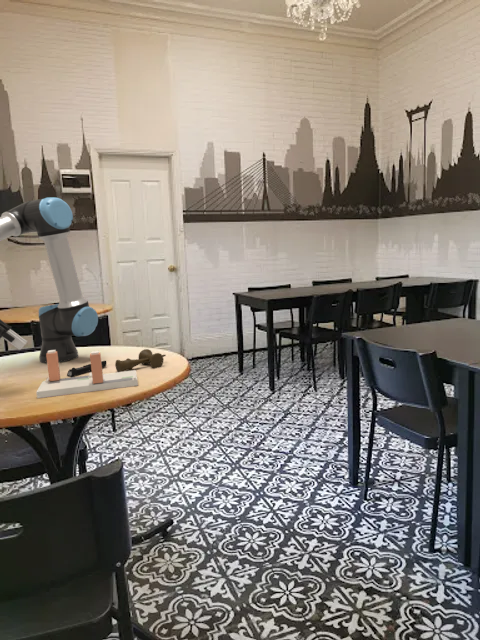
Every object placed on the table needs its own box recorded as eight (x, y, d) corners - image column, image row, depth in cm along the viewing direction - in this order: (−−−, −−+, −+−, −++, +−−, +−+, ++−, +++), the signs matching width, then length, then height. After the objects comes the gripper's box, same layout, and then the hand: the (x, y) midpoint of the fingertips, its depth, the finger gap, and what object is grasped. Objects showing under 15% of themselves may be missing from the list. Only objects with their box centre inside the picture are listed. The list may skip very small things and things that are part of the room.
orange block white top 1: (50, 378, 154) (47, 350, 152) (60, 377, 154) (56, 349, 153) (49, 381, 151) (45, 352, 149) (59, 380, 152) (55, 351, 150)
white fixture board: (43, 386, 154) (42, 378, 154) (136, 375, 161) (135, 367, 161) (36, 399, 140) (35, 390, 140) (138, 386, 148) (137, 377, 147)
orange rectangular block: (93, 381, 147) (90, 351, 146) (103, 380, 148) (100, 350, 147) (93, 383, 145) (89, 353, 143) (103, 382, 145) (99, 352, 144)
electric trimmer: (109, 368, 176) (108, 360, 175) (72, 378, 164) (71, 369, 163) (103, 367, 178) (102, 359, 178) (66, 377, 166) (65, 368, 166)
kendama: (112, 372, 170) (160, 360, 182) (124, 377, 162) (173, 364, 175) (110, 356, 169) (158, 345, 181) (122, 361, 161) (171, 349, 174)
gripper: (-43, 305, 149) (20, 350, 156) (-60, 310, 135) (10, 359, 141) (-27, 287, 150) (35, 333, 156) (-42, 290, 135) (27, 340, 142)
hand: (23, 345), depth 149 cm, fingers open, 2 cm apart
